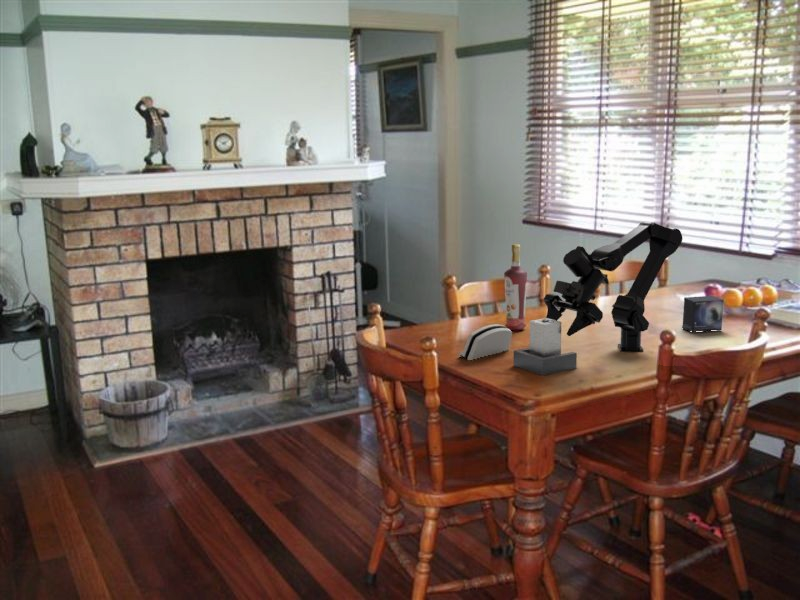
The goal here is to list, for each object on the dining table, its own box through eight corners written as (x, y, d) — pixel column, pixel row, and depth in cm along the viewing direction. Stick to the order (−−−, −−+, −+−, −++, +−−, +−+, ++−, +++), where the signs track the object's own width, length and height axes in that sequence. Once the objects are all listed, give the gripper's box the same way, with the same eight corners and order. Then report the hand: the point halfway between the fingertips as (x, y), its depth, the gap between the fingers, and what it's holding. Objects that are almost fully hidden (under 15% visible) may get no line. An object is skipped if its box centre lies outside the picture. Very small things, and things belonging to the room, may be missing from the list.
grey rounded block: (496, 346, 243) (505, 318, 239) (507, 354, 240) (516, 325, 236) (457, 357, 232) (465, 327, 228) (468, 366, 229) (477, 335, 225)
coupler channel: (546, 358, 229) (546, 344, 228) (576, 368, 219) (576, 352, 218) (513, 365, 223) (513, 350, 222) (542, 375, 213) (542, 360, 212)
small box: (692, 333, 253) (694, 301, 251) (681, 329, 259) (682, 297, 257) (722, 331, 255) (724, 298, 253) (711, 326, 261) (712, 295, 259)
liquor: (531, 329, 263) (532, 244, 258) (513, 333, 259) (514, 246, 254) (516, 325, 269) (517, 242, 264) (499, 329, 266) (499, 244, 260)
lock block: (546, 359, 225) (546, 316, 222) (560, 364, 220) (561, 320, 217) (529, 363, 222) (529, 319, 219) (543, 368, 217) (544, 323, 214)
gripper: (547, 265, 228) (517, 309, 225) (595, 273, 212) (564, 321, 209) (568, 288, 234) (539, 332, 230) (616, 298, 218) (586, 345, 215)
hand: (556, 332), depth 221 cm, fingers open, 9 cm apart
